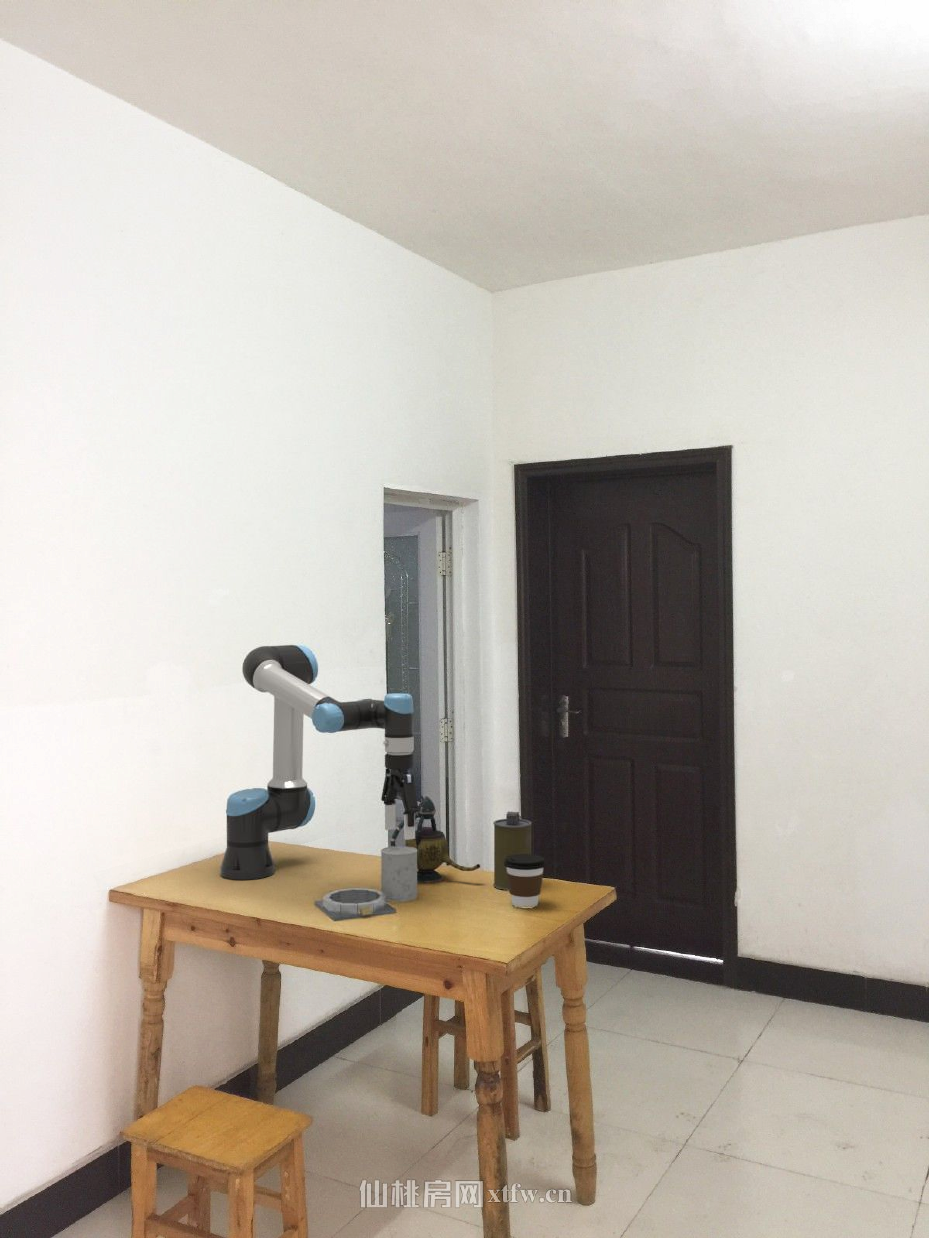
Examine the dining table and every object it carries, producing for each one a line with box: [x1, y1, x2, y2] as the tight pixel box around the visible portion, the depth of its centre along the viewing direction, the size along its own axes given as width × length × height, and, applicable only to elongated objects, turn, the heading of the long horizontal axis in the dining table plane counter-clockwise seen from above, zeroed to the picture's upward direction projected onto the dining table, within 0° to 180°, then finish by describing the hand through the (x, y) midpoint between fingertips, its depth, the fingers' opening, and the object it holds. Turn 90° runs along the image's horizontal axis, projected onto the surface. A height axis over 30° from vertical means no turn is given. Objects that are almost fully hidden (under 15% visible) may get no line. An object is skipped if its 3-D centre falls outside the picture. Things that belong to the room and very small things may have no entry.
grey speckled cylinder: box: [380, 845, 418, 903], centre depth 275 cm, size 10×10×12 cm
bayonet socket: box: [314, 887, 397, 922], centre depth 265 cm, size 18×16×3 cm
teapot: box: [390, 795, 481, 884], centre depth 292 cm, size 12×25×23 cm, turn 66°
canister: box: [493, 811, 533, 891], centre depth 286 cm, size 11×10×20 cm
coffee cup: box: [504, 853, 547, 908], centre depth 267 cm, size 11×11×12 cm
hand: (399, 834), depth 275 cm, fingers open, 13 cm apart
